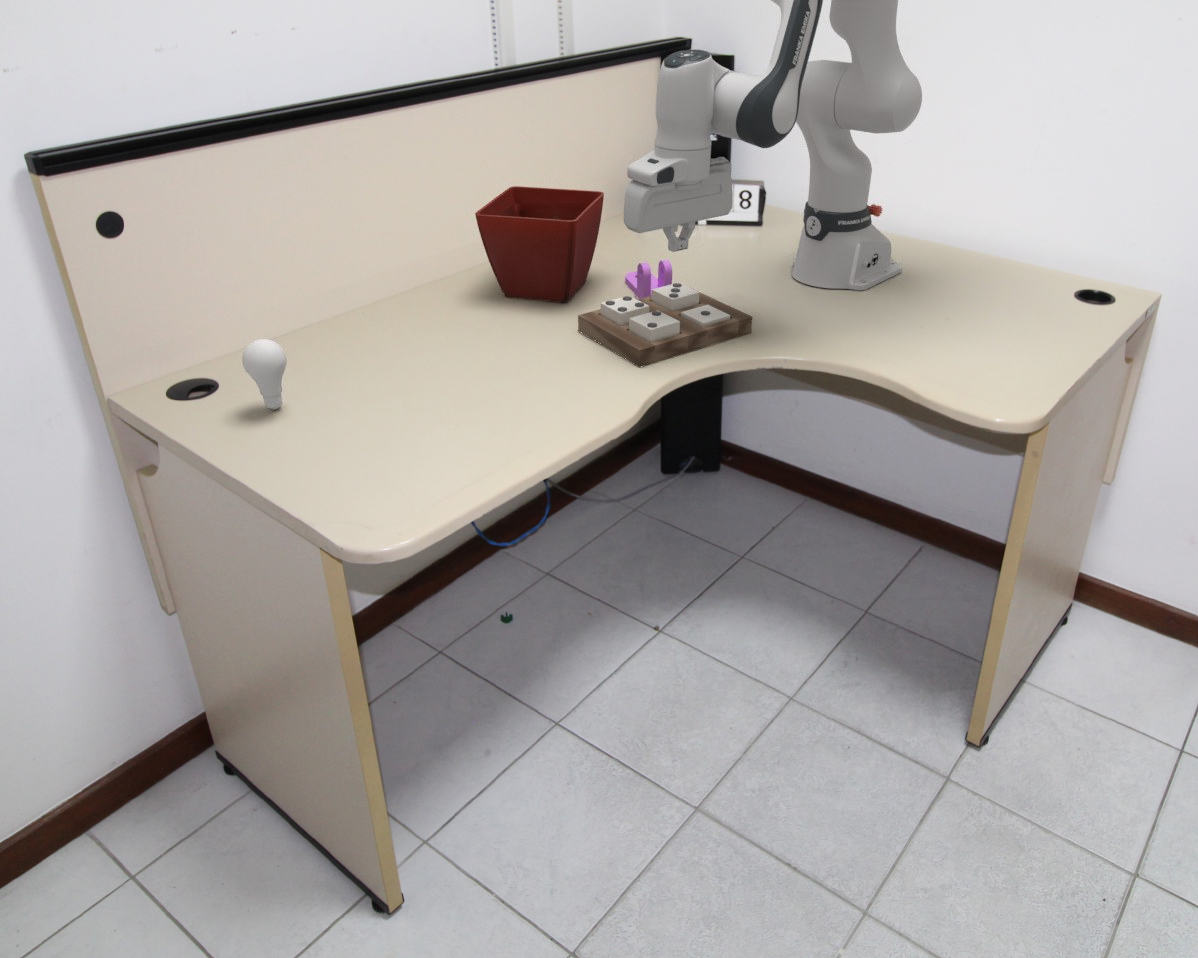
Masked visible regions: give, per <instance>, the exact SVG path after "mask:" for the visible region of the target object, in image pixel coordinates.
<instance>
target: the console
mask: <svg viewBox="0 0 1198 958" xmlns="http://www.w3.org/2000/svg"><path fill="white" fill-rule="evenodd" d="M688 287H689V286H688ZM689 288H691V289H693V290H695V289H694V288H692V287H689ZM698 292H699V304H698V305H694V306H690V307H687V308H683V309H680V310H676V311H673V312H671V311H669V310H667V309H665V308H663V307H661V306H659V305H657V304H655V303H653V302H651V299H652V296H648V297H644V298H641V299H640V298H638V299H637V298H636V299H637V300H639V301H641V302H643V303H645V304H647V305H648V306H649V313H650V312H653V311H657V310H658V311H660V312H662V313H664V314H666V315H668V316H670V317H672V318H674V319H676V320H678V321H680V334H678V335H674V336H671V337H668V338H664V339H661V340H657V341H654V342H651V343H650V342H648V341H646V340H644V339H642V338H641V337H639V336H637V335H635V334H633V333H632V332H630V331H629V324H626V325H623V326H619V325H617V324H615V323H613V322H612V321H610V320H608V319H606V318H604V317H603V316H601V308H600V309H597V310H592V311H589V312H585V313H581V314H577V323H578V325H577V328H578V330H577V331H578V332H579V331H580V332H582V333H583V334H582V333H581V334H582V335H584V334H585V335H587V336H589V337H590V338H589V337H588V338H589V339H591V338H592V339H594V340H596V341H597V342H599V343H601V344H602V345H604V346H606V347H607V348H606V347H605V348H606V349H608V348H609V349H610V350H609V349H608V350H609V351H611V350H612V351H611V352H613V351H614V352H616V353H617V354H616V353H615V354H616V355H618V354H619V355H620V357H621V356H622V357H621V358H623V357H624V358H623V359H625V358H626V359H627V361H628V360H629V361H628V362H630V363H631V362H632V363H631V364H633V363H634V364H633V365H635V366H636V365H637V366H636V367H638V368H642V367H645V366H648V365H652V364H655V363H658V362H662V361H665V360H667V358H668V359H671V358H674V356H675V357H677V356H680V355H685V354H687V352H688V353H690V352H694V351H696V350H700V349H703V348H704V349H705V348H707V347H710V346H713V345H716V344H719V343H723V342H726V341H729V340H732V339H735V338H739V337H742V336H745V335H749V334H752V330H753V319H754V318H753V315H750V314H749V313H746V312H744V311H741V310H740V309H737V308H735V307H732V306H731V305H728V304H726V303H724V302H722V301H720V300H718V299H715V298H714V297H711V296H709V295H707V294H705V293H702V292H700V291H698ZM705 305H710V306H712V307H714V308H716V309H718V310H720V311H722V312H725V313H727V314H729V315H730V319H729V320H725V321H722V322H718V323H715V324H712V325H708V326H705V327H701V326H699V325H697V324H695V323H693V322H691V321H689V320H687V319H685V318H683V317H681V312H683V311H687V310H690V309H694V308H697V307H701V306H705ZM580 332H579V333H580ZM585 335H584V336H585ZM587 336H586V337H587ZM592 339H591V340H592ZM594 340H593V341H594ZM596 341H595V342H596ZM597 342H596V343H597ZM599 343H598V344H599ZM601 344H600V345H601ZM602 345H601V346H602ZM604 346H603V347H604ZM614 352H613V353H614ZM619 355H618V356H619ZM626 359H625V360H626ZM664 359H665V360H664ZM661 360H662V361H661ZM651 363H652V364H651ZM641 366H642V367H641Z"/></svg>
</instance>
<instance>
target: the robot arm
mask: <svg viewBox="0 0 1198 958" xmlns="http://www.w3.org/2000/svg"><path fill="white" fill-rule="evenodd" d="M770 1H772V2H773V3H774V4H776V5H777V6H778V7H779V9H780V24H779V28H778V30H777V35H776V37H775V38H776V39H775V42H774V45H773V50H772V52H771V53H772V54H771V57H770V60H769V64H768V67H767V68H766V69H765V71H763V72H762V73H761V74H757V75H756V74H752V73H751V74H750V73H745V72H740V71H736V70H730V69H729V68H727V67H724V66H722V65H721V64H719V63H718V62H716V61H715V60H714V59H713V57H712V55H711V53H710V52H709V51H707V50H702V49H686V50H678V51H676V52H673V53H671V54H669V55H667V56H666V57H665V58H664V59H663V61H662V63H661V66H660V69H659V74H658V77H657V78H658V79H657V84H656V94H655V95H656V96H655V118H656V122H657V123H656V124H657V131H656V136H655V139H654V150H653V149H652V150H651V151H649V152H648V153H647V154H645V155H644V156H641V157H640V158H639V159H637V160H635V161H634V162H632V163H630V164H629V165H628V166H627V171H626V173H627V174H626V175H627V178H629V179H630V180H631V181H629V183H628V184H627V186H626V188H625V192H624V193H625V194H624V203H623V223H624V225H625V226H626V228H627V229H628V230H629V231H632V232H635V233H637V234H643V233H648V232H652V231H657V230H662V231H663V234H664V235H665V237H666V239H667V249H668V251H670V252H672V253H675V252H678V251H684V250H685V251H686V250H688V249H689V239H690V238H691V236H692V234H693V233H694V231H695V229H696V222H699V221H700V222H701V221H704V220H710V219H713V218H714V219H715V218H719V217H723V216H728V215H729V214H730V212H731V210H732V209H733V203H734V202H733V200H734V199H733V197H734V196H733V195H734V193H733V180H732V176H731V175H732V164H731V163H730V161H729V160H728V159H727V158H726V157H724V156H718V157H716V158H711V155H712V138H711V135H713V134H714V135H719V136H721V137H724V138H727V139H728V138H729V139H734V140H738V141H742V142H744V143H747V144H750V145H752V146H756V147H757V148H761V149H769V148H773V147H774V146H776V145H778V144H779V143H780V142H781V141H783V140H784V139H785V138H786V137H787V136H788V135H789V134H790V133H791V131H792V130H793V128H794V127H795V124H797V126H798V128H799V130H800V131H801V133H802V135H803V137H804V141H805V144H806V148H807V151H808V156H809V157H808V158H809V180H808V181H809V184H808V196H807V201H806V202H805V204H804V208H803V209H804V210H803V218H802V219H803V220H802V221H803V227H802V229H801V234H800V238H799V242H798V247H797V252H796V257H795V258H794V259H793V262H792V266H793V268H792V270H791V275H792V277H793V278H794V280H796V281H798V282H800V283H801V284H805V285H807V286H812V287H817V288H825V289H845V290H847V289H849V290H854V291H866V290H868V289H869V288H872V287H874V286H877V284H880V283H882V282H884V281H885V280H888V279H890V278H892V277H894V276H896V275H898V274H900V273H902V270H903V266H901V265H900V264H899V262H896V261H895V260H892V243H891V241H890V239H889V238H888V237H887V236H886V235H885V234H884V233H882V232H881V230H879V229H878V228H877V227H876V226H875V225H874V224H873V223H872V222H873V221H872V215H873V216H874V217H877V218H878V217H881V214H883V207H882V206H881V205H876V204H875V203H873V204H871V205H868V203H869V194H870V188H871V181H872V180H871V178H872V173H873V167H872V163H871V160H870V158H869V157H868V155H867V154H866V153H864V152H863V151H862V150H861V149H860V148H859V147H858V146H857V145H856V143H855V142H854V140H853V136H852V133H851V132H852V131H858V132H862V133H863V132H864V133H871V134H891V133H901V132H903V131H905V130H906V129H908V128H909V127H910V126H911V125H912V124H913V123H914V121H915V120H916V119H917V116H918V115H919V113H920V110H921V107H922V102H923V91H922V86H921V83H920V81H919V79H918V78H917V76H916V75H915V73H913V72H912V71H911V69H910V68H909V66H908V65H907V63H906V62H905V60H904V58H903V55H902V53H901V50H900V46H899V43H898V42H899V41H898V35H897V16H898V15H897V13H898V4H899V0H830V1H831V2H830V10H829V15H828V16H829V22H830V25H831V28H832V30H833V31H834V32H835V34H837V36H839V37H840V38H842V39H843V40H844V41H845V42H846V44H847V46H848V49H849V51H850V56H851V62H847V61H838V60H828V59H819V60H818V59H817V60H810V61H809V59H810V55H811V52H812V48H813V43H814V40H815V36H816V33H817V29H818V25H819V20H820V17H821V12H822V8H823V2H824V0H770ZM851 130H852V131H851ZM679 226H680V227H681V231H680V233H679V235H678V237H677V235H676V232H678V228H679Z"/></svg>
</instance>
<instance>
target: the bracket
mask: <svg viewBox="0 0 1198 958" xmlns="http://www.w3.org/2000/svg"><path fill="white" fill-rule="evenodd" d="M657 268H658V270H657V271H658V272H657V274H658V275H657V277H656V276H655V275H654V274H653V273H652V270H651V266H650V263H648V262H638V264H637V270H636V271H631V272H628V273H626V274H625V276H624V278H625V281H624V283H625V285H626V286H627V287H628V288H629V289H630V290H631V291H632V292H633V293H634V294H635V295H636V296H637V297H638V299H641V298H644V297H648V296H652V289H656V288H659V287H663V286H667V285H671V284H673V265H672V263H671V261H670V260H669V259H666V260H664V259H663V260H660V261H658V267H657Z"/></svg>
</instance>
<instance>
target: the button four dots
mask: <svg viewBox="0 0 1198 958" xmlns="http://www.w3.org/2000/svg"><path fill="white" fill-rule="evenodd" d="M600 309H601V316H603V317H604V318H606V319H608V320H610V321H612V322H613V323H615V324H617V325H619V326H623V325H626V324H629V318H632V317H635V316H639V315H643V314H646V313H649V306H648V305H647V304H645V303H643V302H641V301H639V300H637V298H635V297H633V296H631V295H626V296H622V297H618V298H614V299H610V300H606V301H603V302H600Z"/></svg>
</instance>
